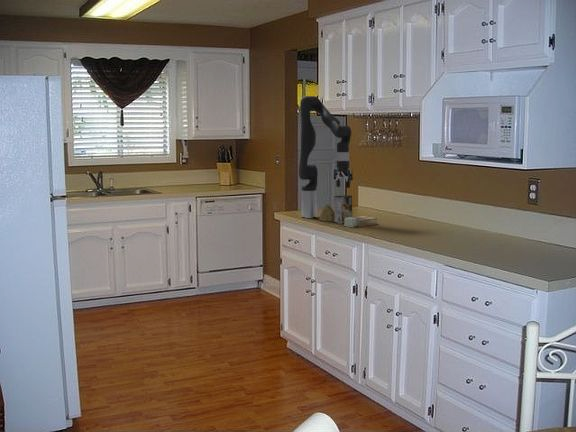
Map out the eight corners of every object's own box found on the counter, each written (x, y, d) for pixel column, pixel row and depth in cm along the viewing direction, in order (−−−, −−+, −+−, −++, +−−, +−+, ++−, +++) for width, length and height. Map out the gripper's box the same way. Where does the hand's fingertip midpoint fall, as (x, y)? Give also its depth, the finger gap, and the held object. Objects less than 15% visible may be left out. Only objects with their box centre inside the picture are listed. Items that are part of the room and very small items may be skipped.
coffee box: (345, 221, 403) (345, 194, 400) (352, 222, 398) (352, 195, 395) (334, 222, 397) (333, 196, 395) (341, 224, 392) (341, 196, 390)
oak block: (347, 224, 391) (347, 218, 391) (362, 222, 399) (362, 215, 398) (361, 227, 382) (361, 220, 381) (376, 224, 389) (376, 218, 388)
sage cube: (344, 226, 382) (344, 218, 381) (349, 225, 386) (349, 217, 385) (351, 227, 379) (351, 219, 378) (356, 226, 382) (356, 217, 382)
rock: (341, 217, 401) (334, 213, 410) (333, 207, 398) (327, 203, 407) (327, 229, 400) (321, 224, 409) (319, 218, 397) (313, 214, 406)
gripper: (330, 159, 395) (330, 187, 398) (346, 160, 384) (346, 188, 386) (339, 159, 400) (340, 186, 402) (355, 159, 389) (356, 187, 391)
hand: (343, 187), depth 394 cm, fingers open, 8 cm apart
